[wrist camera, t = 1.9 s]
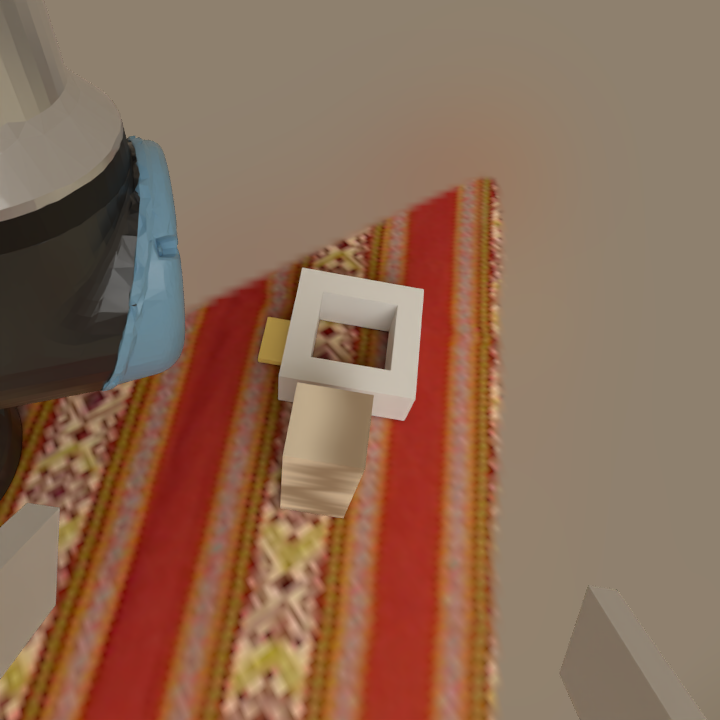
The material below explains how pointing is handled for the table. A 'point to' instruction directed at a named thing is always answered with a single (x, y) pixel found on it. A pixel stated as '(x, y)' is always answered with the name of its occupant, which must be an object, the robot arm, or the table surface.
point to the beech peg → (325, 449)
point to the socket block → (359, 308)
